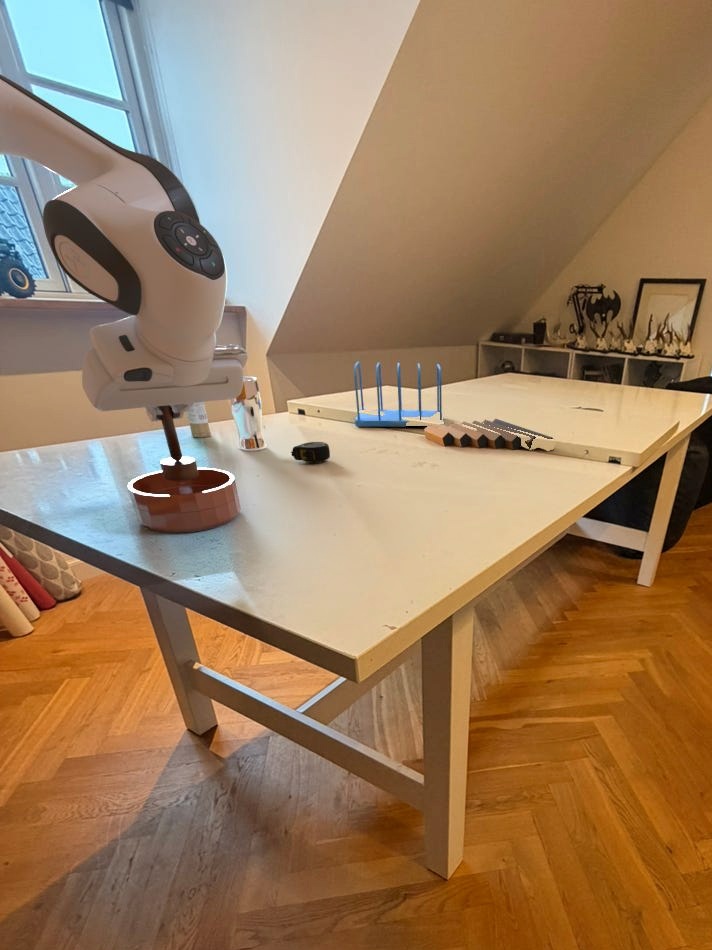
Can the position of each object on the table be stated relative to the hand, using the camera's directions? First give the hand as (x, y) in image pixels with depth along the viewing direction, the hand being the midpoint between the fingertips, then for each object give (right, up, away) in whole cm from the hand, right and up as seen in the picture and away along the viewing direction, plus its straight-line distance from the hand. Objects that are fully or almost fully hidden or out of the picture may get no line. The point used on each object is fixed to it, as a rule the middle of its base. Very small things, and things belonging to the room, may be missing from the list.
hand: (164, 416), depth 81 cm
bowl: (0, -13, +8) cm, 16 cm away
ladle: (0, -8, +5) cm, 9 cm away
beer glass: (-7, +12, +47) cm, 49 cm away
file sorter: (+24, +31, +79) cm, 88 cm away
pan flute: (+50, +17, +60) cm, 80 cm away
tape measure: (+10, +6, +39) cm, 41 cm away
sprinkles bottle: (-23, +18, +55) cm, 62 cm away
